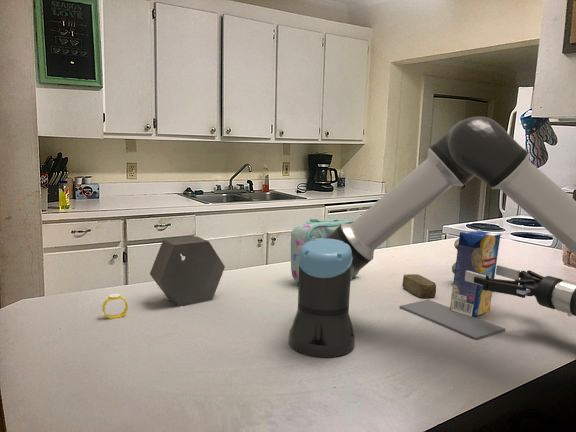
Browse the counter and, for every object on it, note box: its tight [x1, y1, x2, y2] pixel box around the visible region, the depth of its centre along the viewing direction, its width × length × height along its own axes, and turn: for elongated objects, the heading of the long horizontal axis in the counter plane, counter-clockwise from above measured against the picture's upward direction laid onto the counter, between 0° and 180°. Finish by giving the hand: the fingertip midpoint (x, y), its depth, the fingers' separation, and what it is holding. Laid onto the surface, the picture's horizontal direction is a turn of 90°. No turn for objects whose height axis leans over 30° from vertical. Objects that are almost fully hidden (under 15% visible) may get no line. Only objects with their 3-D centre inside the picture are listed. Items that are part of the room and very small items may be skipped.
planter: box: [149, 235, 226, 307], centre depth 136 cm, size 17×8×21 cm
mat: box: [399, 298, 506, 341], centre depth 130 cm, size 12×25×1 cm, turn 33°
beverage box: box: [449, 229, 502, 317], centre depth 134 cm, size 7×11×22 cm, turn 135°
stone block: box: [401, 273, 437, 299], centre depth 151 cm, size 6×12×5 cm, turn 18°
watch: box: [102, 293, 129, 320], centre depth 122 cm, size 6×3×6 cm, turn 120°
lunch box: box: [290, 218, 361, 283], centre depth 159 cm, size 27×10×21 cm, turn 131°
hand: (481, 272), depth 132 cm, fingers open, 13 cm apart
